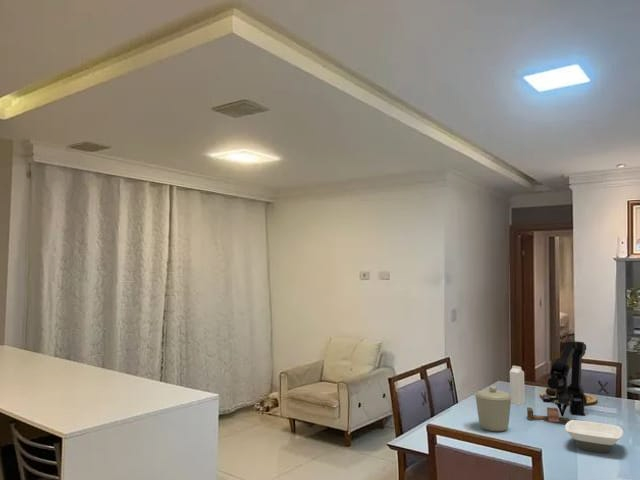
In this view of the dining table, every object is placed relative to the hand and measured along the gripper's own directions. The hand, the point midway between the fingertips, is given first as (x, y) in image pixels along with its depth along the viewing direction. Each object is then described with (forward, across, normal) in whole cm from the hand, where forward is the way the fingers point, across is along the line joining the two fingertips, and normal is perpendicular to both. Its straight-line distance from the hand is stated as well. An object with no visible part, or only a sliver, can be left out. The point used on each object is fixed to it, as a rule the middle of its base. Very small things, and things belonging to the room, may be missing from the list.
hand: (562, 416), depth 266 cm
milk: (+3, -20, +32) cm, 38 cm away
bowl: (+3, +7, -40) cm, 41 cm away
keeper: (+2, -5, 0) cm, 5 cm away
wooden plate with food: (+3, +11, +52) cm, 53 cm away
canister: (+3, -35, -24) cm, 42 cm away
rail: (+3, -7, 0) cm, 7 cm away
